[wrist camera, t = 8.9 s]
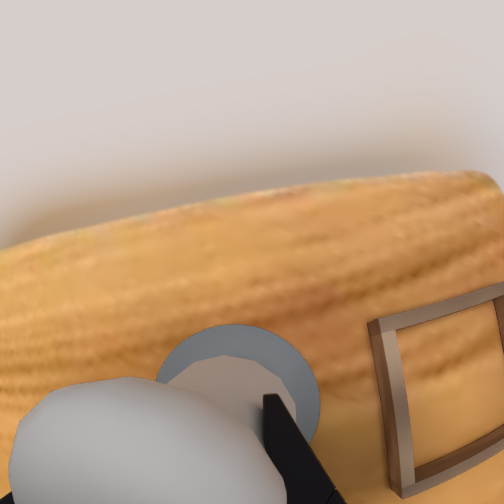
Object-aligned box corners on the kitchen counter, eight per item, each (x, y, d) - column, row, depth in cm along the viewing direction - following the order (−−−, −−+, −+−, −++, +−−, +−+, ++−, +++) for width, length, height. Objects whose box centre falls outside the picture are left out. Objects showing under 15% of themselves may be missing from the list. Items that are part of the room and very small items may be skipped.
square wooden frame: (517, 425, 13) (535, 427, 12) (390, 488, 13) (402, 499, 12) (497, 285, 17) (514, 277, 15) (367, 323, 17) (378, 318, 15)
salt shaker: (264, 482, 13) (235, 686, 1) (161, 436, 14) (-47, 519, 2) (311, 382, 15) (451, 430, 2) (204, 338, 16) (16, 239, 3)
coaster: (241, 504, 14) (240, 508, 13) (127, 401, 16) (123, 402, 16) (351, 395, 16) (354, 396, 15) (230, 293, 18) (229, 290, 18)
